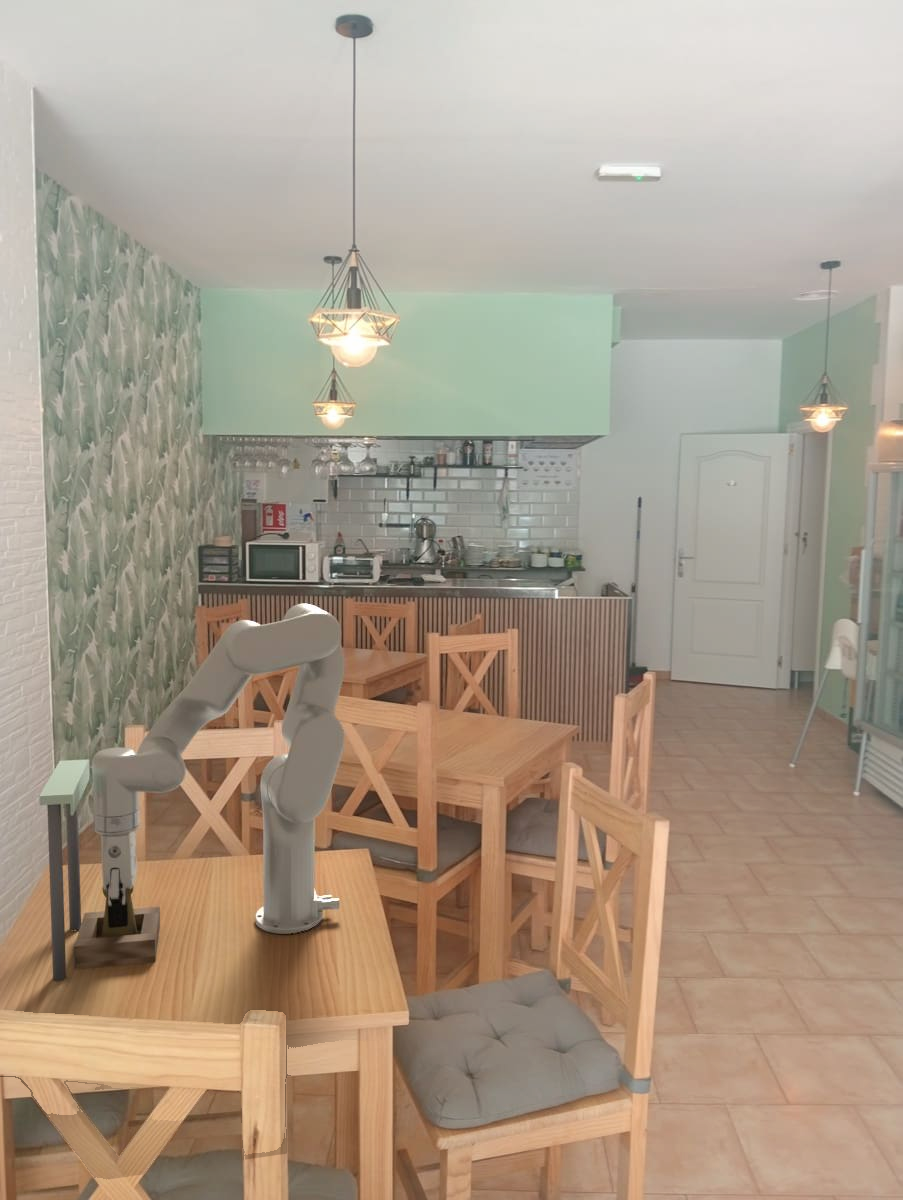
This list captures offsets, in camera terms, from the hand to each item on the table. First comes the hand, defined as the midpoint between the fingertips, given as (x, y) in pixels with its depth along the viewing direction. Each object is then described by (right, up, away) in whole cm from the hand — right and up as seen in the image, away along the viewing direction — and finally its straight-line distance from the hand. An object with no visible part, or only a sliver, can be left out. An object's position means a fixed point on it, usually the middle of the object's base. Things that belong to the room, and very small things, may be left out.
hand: (119, 919), depth 167 cm
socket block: (0, -5, +1) cm, 5 cm away
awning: (-8, -5, -1) cm, 10 cm away
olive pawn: (0, -4, 0) cm, 3 cm away
